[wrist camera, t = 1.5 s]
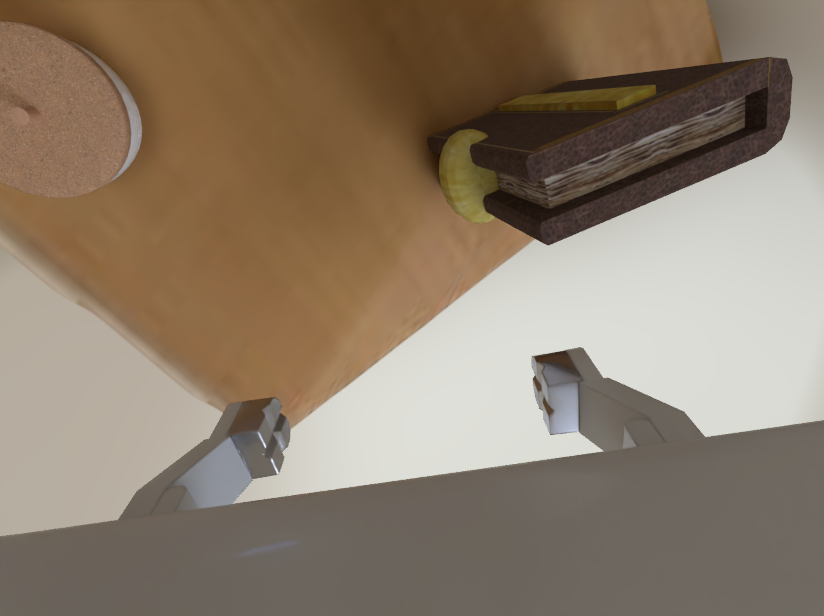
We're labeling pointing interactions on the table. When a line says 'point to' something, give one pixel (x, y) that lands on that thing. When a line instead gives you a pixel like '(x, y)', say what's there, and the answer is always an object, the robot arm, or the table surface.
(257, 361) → the table surface
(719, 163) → the book
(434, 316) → the table surface
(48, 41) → the lidded bowl
